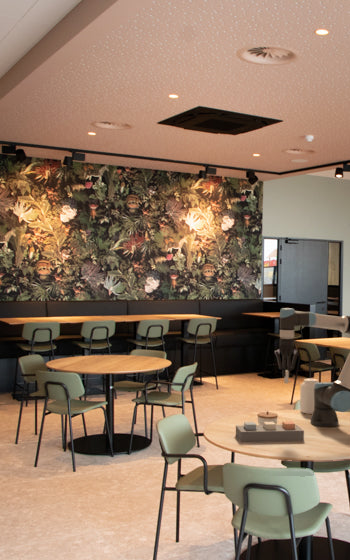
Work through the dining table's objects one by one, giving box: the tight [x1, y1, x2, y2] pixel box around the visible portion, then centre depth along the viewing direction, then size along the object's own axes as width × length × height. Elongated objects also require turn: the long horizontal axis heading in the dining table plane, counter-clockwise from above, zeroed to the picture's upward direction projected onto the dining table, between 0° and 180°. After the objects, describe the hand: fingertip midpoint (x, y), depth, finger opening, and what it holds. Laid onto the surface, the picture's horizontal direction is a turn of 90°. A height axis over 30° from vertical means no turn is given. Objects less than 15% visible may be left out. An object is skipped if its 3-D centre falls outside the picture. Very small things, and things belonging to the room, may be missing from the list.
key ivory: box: [263, 422, 277, 430], centre depth 296 cm, size 5×5×5 cm
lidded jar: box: [257, 410, 279, 425], centre depth 314 cm, size 11×11×9 cm
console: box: [235, 424, 305, 443], centre depth 296 cm, size 32×12×5 cm, turn 97°
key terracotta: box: [281, 421, 296, 429], centre depth 297 cm, size 5×5×5 cm
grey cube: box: [243, 421, 257, 430], centre depth 295 cm, size 5×5×5 cm
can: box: [299, 377, 319, 415], centre depth 354 cm, size 12×12×20 cm
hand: (286, 382), depth 305 cm, fingers closed
